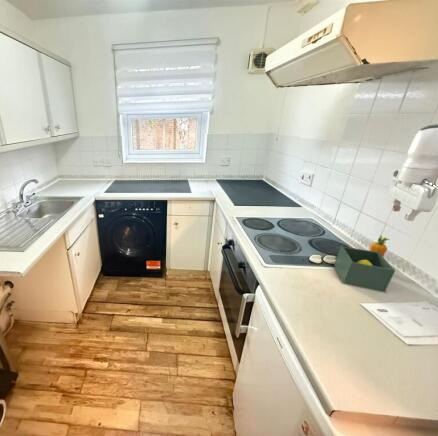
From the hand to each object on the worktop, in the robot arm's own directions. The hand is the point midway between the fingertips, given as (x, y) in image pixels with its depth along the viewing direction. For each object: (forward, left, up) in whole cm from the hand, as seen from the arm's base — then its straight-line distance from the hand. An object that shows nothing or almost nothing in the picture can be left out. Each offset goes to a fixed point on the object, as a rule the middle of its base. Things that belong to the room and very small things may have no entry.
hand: (401, 215), depth 83 cm
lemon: (+4, 0, -28) cm, 28 cm away
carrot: (-3, -12, -28) cm, 31 cm away
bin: (+5, 0, -28) cm, 29 cm away
